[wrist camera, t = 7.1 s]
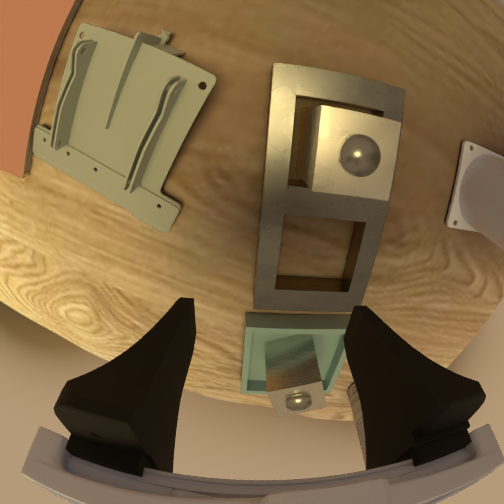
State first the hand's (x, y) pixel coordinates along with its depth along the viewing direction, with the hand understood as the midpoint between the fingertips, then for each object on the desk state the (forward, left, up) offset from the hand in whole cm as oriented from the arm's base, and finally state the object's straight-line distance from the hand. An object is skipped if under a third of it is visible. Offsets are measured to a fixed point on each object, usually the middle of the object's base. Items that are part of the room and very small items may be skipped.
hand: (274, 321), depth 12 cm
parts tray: (-4, +13, -10) cm, 17 cm away
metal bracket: (+11, -8, -11) cm, 18 cm away
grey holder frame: (-4, -3, -10) cm, 12 cm away
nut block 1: (-4, +13, -10) cm, 16 cm away
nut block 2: (-4, -7, -10) cm, 13 cm away
